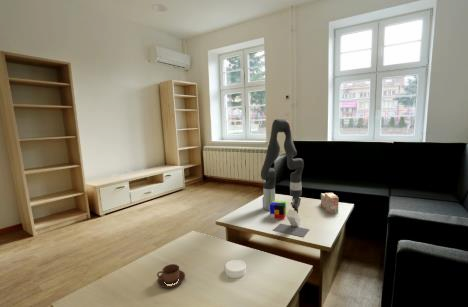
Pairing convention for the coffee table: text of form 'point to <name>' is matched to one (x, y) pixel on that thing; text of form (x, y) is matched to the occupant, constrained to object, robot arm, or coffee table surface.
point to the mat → (291, 230)
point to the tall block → (293, 218)
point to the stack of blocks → (330, 202)
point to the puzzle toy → (278, 209)
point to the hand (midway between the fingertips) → (296, 213)
